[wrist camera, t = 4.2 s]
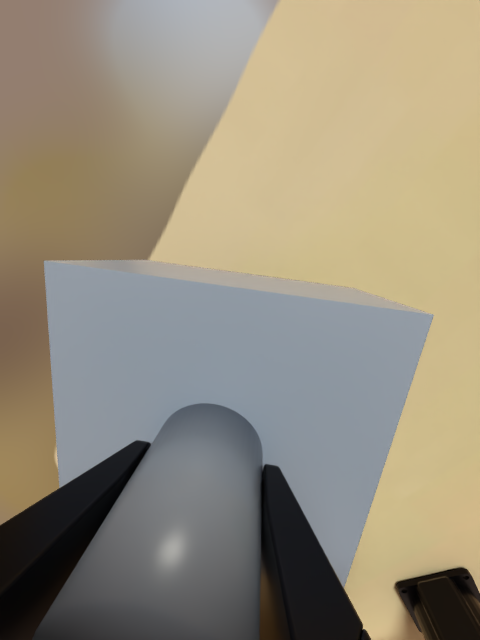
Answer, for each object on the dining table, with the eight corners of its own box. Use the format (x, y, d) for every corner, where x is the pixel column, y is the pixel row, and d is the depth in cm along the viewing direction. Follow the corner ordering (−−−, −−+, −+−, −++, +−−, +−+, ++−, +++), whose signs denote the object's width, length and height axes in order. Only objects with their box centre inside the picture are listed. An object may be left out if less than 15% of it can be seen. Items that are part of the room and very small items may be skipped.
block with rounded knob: (353, 287, 11) (819, 442, 2) (310, 465, 14) (411, 929, 4) (144, 259, 12) (-327, 263, 2) (139, 433, 15) (-107, 773, 5)
